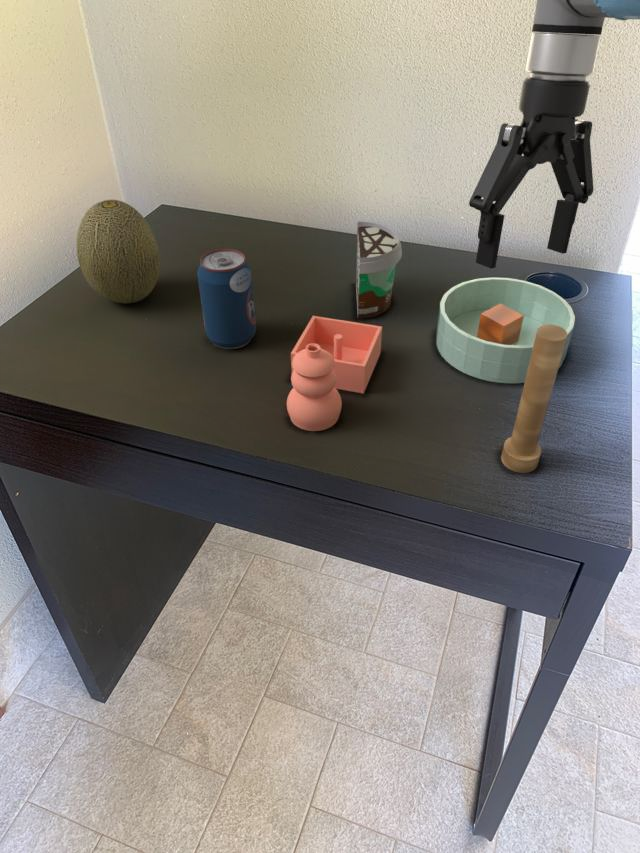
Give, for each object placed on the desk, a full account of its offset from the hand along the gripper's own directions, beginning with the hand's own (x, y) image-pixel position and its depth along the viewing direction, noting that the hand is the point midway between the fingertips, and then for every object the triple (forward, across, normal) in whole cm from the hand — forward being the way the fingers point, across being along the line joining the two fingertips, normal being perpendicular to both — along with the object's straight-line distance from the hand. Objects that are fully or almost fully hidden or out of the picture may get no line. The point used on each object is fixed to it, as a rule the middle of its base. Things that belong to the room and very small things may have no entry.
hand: (522, 258), depth 90 cm
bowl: (+11, +3, +2) cm, 12 cm away
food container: (+10, +10, -17) cm, 22 cm away
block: (+10, +3, +1) cm, 11 cm away
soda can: (+13, +32, -21) cm, 40 cm away
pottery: (+14, +28, -4) cm, 31 cm away
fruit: (+12, +40, -39) cm, 57 cm away
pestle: (+15, +17, +19) cm, 30 cm away
